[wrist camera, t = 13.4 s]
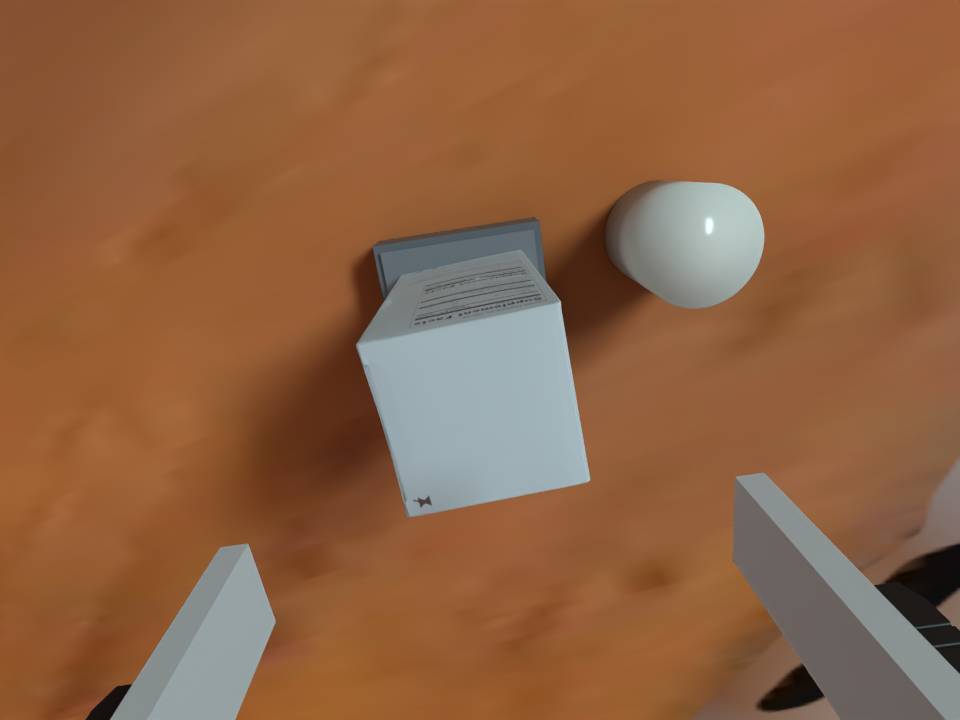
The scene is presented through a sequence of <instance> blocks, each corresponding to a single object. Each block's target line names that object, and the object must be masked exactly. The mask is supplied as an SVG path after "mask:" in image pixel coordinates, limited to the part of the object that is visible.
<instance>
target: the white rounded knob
mask: <svg viewBox="0 0 960 720" xmlns="http://www.w3.org/2000/svg"><path fill="white" fill-rule="evenodd" d="M605 246H606V250H607V253H608V255H609V258H610V259H611V261H612V263H613V264H614V265H615V267H616V268H617V269H618V270H619V271H621V272H622V273H623V274H625V275H626V276H628V277H629V278H631V279H632V280H634V281H636V282H637V283H639V284H640V285H642V286H643V287H645V288H646V289H648V290H649V291H651V292H653V293H654V294H656V295H657V296H659V297H660V298H662V299H663V300H665V301H666V302H668V303H671V304H673V305H676V306H679V307H683V308H694V309H696V308H705V307H709V306H713V305H716V304H718V303H721V302H723V301H725V300H727V299H728V298H730V297H731V296H733V295H734V294H735V293H737V292H738V291H739V290H740V289H741V288H742V287H743V286H744V285H745V284H746V283H747V282H748V280H749V279H750V278H751V276H752V275H753V273H754V272H755V270H756V268H757V266H758V264H759V261H760V258H761V256H762V251H763V247H764V228H763V223H762V219H761V216H760V214H759V212H758V210H757V208H756V207H755V205H754V204H753V202H752V201H751V200H750V199H749V198H748V197H747V196H746V195H745V194H743V193H742V192H741V191H739V190H737V189H735V188H733V187H730V186H728V185H724V184H719V183H701V182H681V181H661V180H656V181H649V182H645V183H642V184H639V185H637V186H635V187H633V188H632V189H630V190H629V191H627V192H626V193H625V194H624V195H623V196H622V197H621V198H620V199H619V200H618V201H617V202H616V204H615V205H614V207H613V208H612V210H611V212H610V214H609V216H608V219H607V222H606V226H605Z"/></svg>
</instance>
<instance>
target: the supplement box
mask: <svg viewBox="0 0 960 720" xmlns="http://www.w3.org/2000/svg"><path fill="white" fill-rule="evenodd" d="M356 348H357V351H358V354H359V357H360V360H361V362H362V365H363V368H364V371H365V374H366V377H367V380H368V383H369V386H370V389H371V392H372V396H373V399H374V402H375V405H376V408H377V411H378V414H379V417H380V420H381V423H382V427H383V430H384V433H385V437H386V440H387V443H388V446H389V450H390V453H391V457H392V461H393V464H394V468H395V471H396V475H397V478H398V482H399V486H400V489H401V493H402V497H403V501H404V506H405V511H406V515H407V517H413V516H419V515H425V514H430V513H435V512H440V511H446V510H451V509H456V508H461V507H466V506H471V505H476V504H481V503H486V502H491V501H496V500H501V499H507V498H512V497H517V496H522V495H527V494H532V493H537V492H542V491H548V490H553V489H558V488H564V487H568V486H573V485H577V484H582V483H587V482H589V481H590V475H589V470H588V464H587V458H586V452H585V446H584V440H583V434H582V429H581V423H580V417H579V411H578V405H577V399H576V393H575V387H574V382H573V376H572V370H571V364H570V358H569V352H568V346H567V340H566V334H565V328H564V322H563V316H562V310H561V301H560V300H559V298H558V297H557V296H556V294H555V293H554V292H553V291H552V289H551V288H550V287H549V285H548V284H547V283H546V281H545V280H544V279H543V277H542V276H541V275H540V273H539V272H538V271H537V270H536V268H535V267H534V266H533V264H532V263H531V262H530V260H529V259H528V258H527V256H526V255H525V254H524V252H523V251H522V250H516V251H510V252H505V253H500V254H495V255H490V256H486V257H481V258H477V259H472V260H468V261H463V262H459V263H454V264H450V265H445V266H440V267H436V268H431V269H427V270H422V271H417V272H413V273H408V274H404V275H401V276H400V278H399V279H398V281H397V282H396V284H395V286H394V287H393V288H392V290H391V292H390V293H389V295H388V296H387V298H386V300H385V301H384V302H383V304H382V306H381V307H380V309H379V310H378V312H377V313H376V315H375V316H374V318H373V319H372V321H371V322H370V324H369V325H368V327H367V328H366V330H365V331H364V333H363V334H362V336H361V337H360V339H359V341H358V342H357V344H356Z"/></svg>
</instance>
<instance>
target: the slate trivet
mask: <svg viewBox="0 0 960 720" xmlns="http://www.w3.org/2000/svg"><path fill="white" fill-rule="evenodd" d="M372 248H373V252H374V257H375V262H376V266H377V271H378V276H379V281H380V285H381V290H382V295H383V299H384V301H385V300H386V298H387V296H388V295H389V293H390V292H391V290H392V288H393V287H394V286H395V284H396V282H397V281H398V279H399V278H400V276H401V275H404V274H408V273H413V272H417V271H422V270H427V269H431V268H436V267H440V266H445V265H450V264H454V263H459V262H463V261H468V260H472V259H477V258H481V257H486V256H490V255H495V254H500V253H505V252H510V251H516V250H522V251H523V252H524V254H525V255H526V256H527V258H528V259H529V260H530V262H531V263H532V264H533V266H534V267H535V268H536V270H537V271H538V272H539V273H540V275H541V276H542V277H543V279H544V280H545V281H546V276H545V266H544V257H543V248H542V239H541V229H540V221H539V220H538V219H536V218H535V217H532V218H526V219H519V220H513V221H506V222H500V223H493V224H487V225H481V226H474V227H468V228H461V229H455V230H448V231H442V232H435V233H429V234H422V235H416V236H409V237H403V238H397V239H390V240H384V241H378V242H377V243H376V244H375V245H373V246H372Z"/></svg>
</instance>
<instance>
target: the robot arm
mask: <svg viewBox="0 0 960 720" xmlns="http://www.w3.org/2000/svg"><path fill="white" fill-rule="evenodd" d="M733 561H734V563H735V564H736V566H737V567H738V569H739V570H740V572H741V573H742V575H743V576H744V578H745V579H746V580H747V582H748V583H749V585H750V586H751V588H752V589H753V591H754V592H755V594H756V595H757V597H758V598H759V600H760V601H761V603H762V604H763V606H764V607H765V608H766V610H767V611H768V613H769V614H770V616H771V617H772V619H773V620H774V622H775V623H776V625H777V626H778V628H779V629H780V631H781V632H782V634H783V635H784V636H785V638H786V639H787V641H788V642H789V644H790V645H791V647H792V648H793V650H794V651H795V652H796V654H797V656H798V657H799V659H800V660H801V662H802V663H803V665H804V666H805V667H806V669H807V670H808V672H809V673H810V675H811V676H812V678H813V679H814V681H815V682H816V684H817V685H818V687H819V688H820V690H821V691H822V693H823V694H824V695H825V697H826V698H827V700H828V701H829V703H830V704H831V706H832V707H833V709H834V710H835V712H836V713H837V715H838V716H839V718H840V719H841V720H960V631H959V630H958V629H957V628H956V627H955V626H952V625H951V624H950V621H949V620H948V619H947V618H946V617H945V616H943V615H942V614H941V613H940V612H939V611H938V610H937V609H936V608H935V607H934V606H933V605H932V604H931V603H930V602H929V601H928V600H926V599H925V598H923V597H921V596H920V595H918V594H916V593H914V592H913V591H911V590H909V589H908V588H906V587H904V586H902V585H901V584H899V583H897V582H896V583H889V584H881V585H873V584H871V582H869V580H868V579H867V578H866V577H865V576H864V575H863V574H862V573H861V572H860V571H859V570H858V569H857V568H856V567H855V566H854V565H853V564H852V563H851V562H850V561H849V560H848V559H847V558H846V557H845V556H844V555H843V554H842V552H841V551H840V550H839V549H838V548H837V547H836V546H835V545H834V544H833V543H832V542H831V541H830V540H829V539H828V538H827V537H826V536H825V535H824V534H823V533H822V532H821V531H820V530H819V529H818V528H817V527H816V526H815V525H814V524H813V523H812V522H811V521H810V520H809V519H808V518H807V516H806V515H805V514H804V513H803V512H802V511H801V510H800V509H799V508H798V507H797V506H796V505H795V504H794V503H793V502H792V501H791V500H790V499H789V498H788V497H787V496H786V495H785V494H784V493H783V492H782V491H781V490H780V489H779V488H778V487H777V486H776V485H775V484H774V483H773V482H772V480H771V479H770V478H769V477H768V476H767V475H766V474H765V473H759V474H752V475H745V476H738V477H735V499H734V543H733ZM275 622H276V621H275V618H274V615H273V613H272V610H271V607H270V604H269V601H268V598H267V596H266V593H265V590H264V587H263V584H262V582H261V579H260V576H259V573H258V570H257V567H256V565H255V562H254V559H253V556H252V553H251V550H250V548H249V545H248V544H241V545H234V546H226V547H220V548H219V550H218V552H217V553H216V555H215V556H214V558H213V559H212V561H211V563H210V564H209V566H208V567H207V569H206V570H205V572H204V574H203V575H202V577H201V578H200V580H199V581H198V583H197V584H196V586H195V588H194V589H193V591H192V592H191V594H190V595H189V597H188V599H187V600H186V602H185V603H184V605H183V606H182V608H181V609H180V611H179V613H178V614H177V616H176V617H175V619H174V620H173V622H172V624H171V625H170V627H169V628H168V630H167V631H166V633H165V634H164V636H163V638H162V639H161V641H160V642H159V644H158V645H157V647H156V649H155V650H154V652H153V653H152V655H151V656H150V658H149V659H148V661H147V663H146V664H145V666H144V667H143V669H142V670H141V672H140V674H139V675H138V677H137V678H136V680H135V681H134V683H133V684H131V685H123V686H117V687H116V688H115V689H114V690H113V691H112V692H111V693H110V694H108V695H107V696H106V697H105V698H104V699H103V700H102V701H101V702H100V703H99V704H98V705H97V706H96V707H95V708H94V709H93V710H92V711H91V713H90V714H89V716H88V717H87V719H86V720H235V719H236V716H237V714H238V711H239V709H240V707H241V704H242V702H243V699H244V697H245V695H246V692H247V690H248V687H249V685H250V682H251V680H252V678H253V675H254V673H255V670H256V668H257V666H258V663H259V661H260V658H261V656H262V654H263V651H264V649H265V646H266V644H267V641H268V639H269V637H270V634H271V632H272V629H273V627H274V625H275Z"/></svg>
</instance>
